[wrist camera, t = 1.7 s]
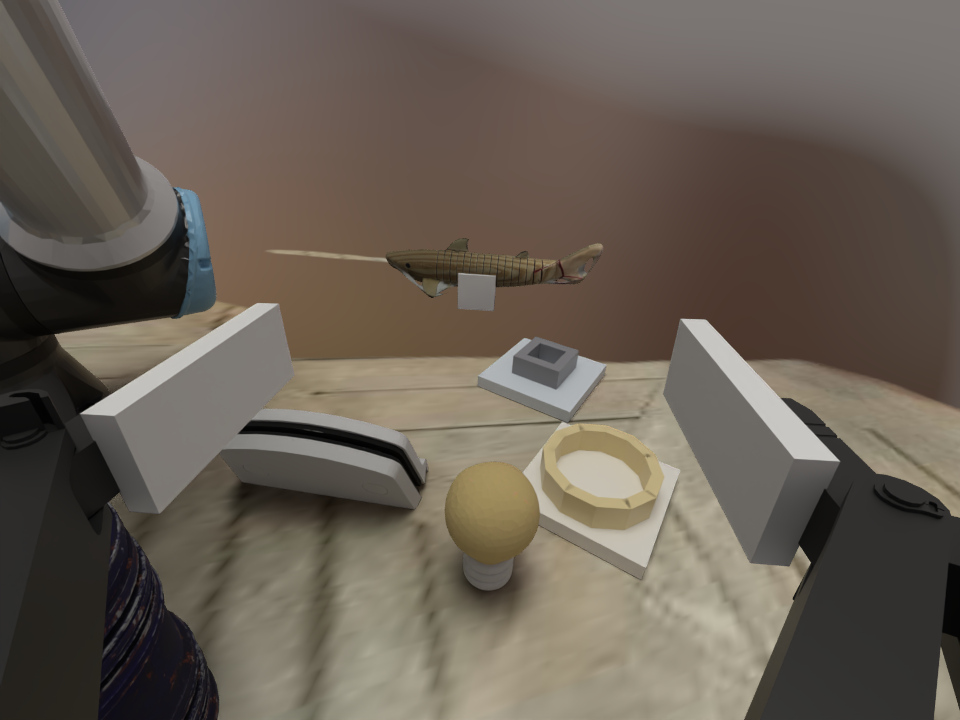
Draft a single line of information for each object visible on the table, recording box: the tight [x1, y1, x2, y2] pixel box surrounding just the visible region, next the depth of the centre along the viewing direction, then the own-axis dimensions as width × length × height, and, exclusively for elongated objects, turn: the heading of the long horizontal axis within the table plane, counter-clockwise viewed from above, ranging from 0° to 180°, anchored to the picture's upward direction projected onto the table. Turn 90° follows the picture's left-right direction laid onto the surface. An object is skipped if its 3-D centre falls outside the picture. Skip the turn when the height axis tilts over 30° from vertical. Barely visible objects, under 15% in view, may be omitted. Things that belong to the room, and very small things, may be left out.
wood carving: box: [386, 238, 603, 311], centre depth 72 cm, size 9×35×11 cm, turn 86°
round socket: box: [523, 422, 680, 580], centre depth 39 cm, size 12×12×4 cm
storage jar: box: [98, 502, 219, 720], centre depth 20 cm, size 10×10×15 cm
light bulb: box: [445, 462, 540, 591], centre depth 31 cm, size 6×6×10 cm
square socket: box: [478, 337, 606, 423], centre depth 55 cm, size 12×12×4 cm
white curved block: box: [219, 409, 428, 509], centre depth 38 cm, size 17×5×10 cm, turn 81°
